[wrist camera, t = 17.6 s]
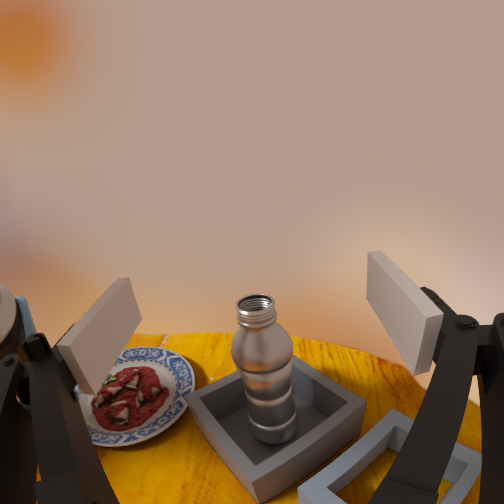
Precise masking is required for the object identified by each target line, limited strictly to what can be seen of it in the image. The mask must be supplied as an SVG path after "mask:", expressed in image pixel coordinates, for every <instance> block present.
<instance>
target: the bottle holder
mask: <svg viewBox="0 0 504 504" xmlns="http://www.w3.org/2000/svg"><path fill="white" fill-rule="evenodd" d="M413 422H414V420H413V419H411V418H410V417H408V416H406V415H404V414H402V413H400V412H399V411H397V410H395V409H393V408H392V409H391V410H390V411H389V412H388V413H387V414H386V415H385V416H384V417H383V418H382V419H381V420H380V421H379V422H378V423H377V424H376V425H375V426H374V427H373V428H371V429H370V430H369V431H368V432H367V433H366V434H365V435H364V436H363V437H362V438H360V439H359V440H358V441H357V442H356V443H355V444H354V445H352V446H351V447H350V448H349V449H348V450H347V451H345V452H344V453H343V454H342V455H341V456H339V457H338V458H337V459H336V460H334V461H333V462H332V463H330V464H329V465H328V466H327V467H325V468H324V469H323V470H321V471H320V472H319V473H317V474H316V475H315V476H313V477H312V478H310V479H309V480H308V481H306V482H305V483H303V484H302V485H300V486H299V487H298V501H299V504H347V503H345V502H344V501H343V500H342V499H340V498H339V497H338V496H336V495H335V494H336V493H337V492H339V491H340V490H341V489H342V488H344V487H345V486H346V485H347V484H348V483H350V482H351V481H352V480H353V479H354V478H355V477H357V476H358V475H359V474H360V473H361V472H362V471H363V470H364V469H366V468H367V467H368V466H369V465H370V464H371V463H372V462H373V461H374V460H375V459H376V458H377V457H378V456H379V455H380V454H381V453H382V452H383V451H384V450H385V449H386V448H387V447H389V448H390V449H392V450H394V451H395V452H397V453H399V451H400V449H401V447H402V445H403V443H404V441H405V439H406V437H407V435H408V433H409V431H410V429H411V427H412V425H413ZM481 465H482V453H479V452H477V451H475V450H473V449H471V448H469V447H467V446H464V445H462V444H460V443H458V442H456V443H455V446H454V449H453V452H452V455H451V457H450V460H449V463H448V465H447V468H446V471H445V473H444V476H443V479H445V480H447V481H449V482H451V483H453V484H452V485H451V487H450V488H449V489H448V491H447V492H446V494H445V495H444V496H443V498H442V499H441V500H440V501H439V503H438V504H461V502H462V501H463V499H464V498H465V496H466V495H467V493H468V492H469V490H470V489H471V487H472V486H473V484H474V482H475V481H476V479H477V478H478V476H479V474H480V472H481Z"/></svg>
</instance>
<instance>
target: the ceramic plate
mask: <svg viewBox="0 0 504 504" xmlns="http://www.w3.org/2000/svg"><path fill="white" fill-rule="evenodd" d="M194 390H195V374H194V371H193V368H192V367H191V365H190V363H189V362H188V361H187V360H186V359H185V358H184V357H183V356H181V355H180V354H178V353H176V352H174V351H171V350H168V349H164V348H159V347H135V348H128V349H123V351H122V352H121V354H120V356H119V357H118V359H117V361H116V362H115V364H114V366H113V367H112V369H111V371H110V372H109V374H108V376H107V378H106V379H105V381H104V383H103V384H102V386H101V388H100V390H99V391H98V393H97V395H96V396H94V395H87V394H83V393H82V391H81V390H80V388H79V386H78V385H76V387H75V389H74V391H75V392H76V394H77V396H78V399H79V403H80V406H81V410H82V413H83V416H84V419H85V422H86V425H87V428H88V431H89V434H90V437H91V439H92V442H93V444H94V445H99V446H106V447H119V446H127V445H132V444H136V443H139V442H142V441H145V440H147V439H149V438H151V437H154V436H156V435H158V434H159V433H161V432H162V431H164V430H165V429H167V428H168V427H169V426H171V425H172V424H173V423H174V422H175V421H176V420H177V419H178V418H179V417H180V416H181V415H182V414H183V413H184V411H185V410H186V408H187V407H188V404H187V401H186V399H185V395H187V394H189V393H191V392H194Z"/></svg>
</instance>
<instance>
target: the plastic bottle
mask: <svg viewBox="0 0 504 504" xmlns="http://www.w3.org/2000/svg"><path fill="white" fill-rule="evenodd" d="M236 309H237V320H238V324H239V325H240V327H239V328H238V330H237V332H236V334H235V336H234V338H233V340H232V344H231V355H232V358H233V361H234V363H235V366H236V368H237V370H238V373H239V375H240V377H241V380H242V383H243V386H244V389H245V393H246V396H247V404H248V426H249V428H250V430H251V432H252V433H253V435H254V436H255V437H256V438H257V439H258V440H259V441H261V442H264V443H267V444H280V443H283V442H286V441H288V440H289V439H291V438H292V437H293V436H294V435H295V434H296V432H297V430H298V425H299V414H298V410H297V408H296V405H295V403H294V398H293V394H292V385H291V370H292V359H293V342H292V340H291V338H290V336H289V334H288V332H287V331H286V330H285V329H284V328H283V327H282V326H281V325H280V324H279V323H278V322H276V320H277V312H276V310H275V303H274V299H273V298H272V297H271V296H269V295H266V294H251V295H247V296H245V297H243V298H241V299H239V300H238V302H237V303H236Z"/></svg>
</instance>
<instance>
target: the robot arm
mask: <svg viewBox="0 0 504 504" xmlns="http://www.w3.org/2000/svg"><path fill="white" fill-rule="evenodd" d="M366 298H367V300H368V302H369V303H370V305H371V306H372V308H373V309H374V311H375V312H376V314H377V316H378V317H379V319H380V321H381V322H382V324H383V325H384V327H385V329H386V330H387V332H388V334H389V335H390V337H391V339H392V340H393V342H394V344H395V345H396V347H397V349H398V350H399V352H400V354H401V355H402V357H403V359H404V361H405V362H406V364H407V366H408V368H409V369H410V371H411V373H412V375H413V376H415V375H418V374H422V373H425V372H429V370H430V367H431V364H432V360H433V361H434V363H435V364H436V367H435V370H434V373H433V376H432V378H431V381H430V384H429V386H428V389H427V392H426V394H425V397H424V399H423V402H422V404H421V407H420V409H419V411H418V414H417V416H416V418H415V420H414V422H413V425H412V427H411V429H410V431H409V433H408V435H407V437H406V439H405V441H404V443H403V445H402V447H401V449H400V451H399V453H398V455H397V457H396V459H395V460H394V462H393V464H392V466H391V468H390V469H389V471H388V473H387V474H386V476H385V477H384V479H383V480H382V482H381V483H380V485H379V487H378V488H377V490H376V491H375V493H374V494H373V496H372V497H371V499H370V500H369V502H368V503H367V504H436V502H437V499H438V495H439V494H438V492H437V491H438V488H439V485H440V483H441V480H442V478H443V476H444V473H445V471H446V468H447V465H448V463H449V460H450V457H451V455H452V452H453V449H454V446H455V443H456V440H457V437H458V433H459V430H460V427H461V423H462V420H463V416H464V412H465V408H466V404H467V400H468V395H469V391H470V387H471V382H472V376H473V375H477V379H478V387H479V397H480V409H481V428H482V465H481V483H480V494H479V503H478V504H504V313H499V314H497V315H496V316H495V318H494V321H493V324H492V325H479V323H478V322H477V320H476V319H474V318H473V317H471V316H467V315H457V314H456V313H455V312H454V311H453V310H452V309H451V308H450V307H449V306H448V305H447V304H446V303H445V302H444V301H443V300H442V299H441V298H439V296H438V295H437V294H436V293H435V292H434V291H432V290H430V289H428V288H426V287H421V288H419V287H418V286H417V285H416V284H415V283H414V282H413V281H412V280H411V279H410V278H409V277H408V276H406V274H405V273H404V272H403V271H402V270H400V269H399V268H398V267H397V266H396V265H395V264H394V263H393V262H392V261H391V260H390V259H389V258H388V257H387V256H386V255H385V254H384V253H383V252H381V251H374V252H368V265H367V294H366ZM141 320H142V318H141V315H140V311H139V308H138V305H137V302H136V299H135V296H134V292H133V289H132V286H131V283H130V279H129V278H119V279H117V280H116V281H115V282H114V283H113V284H112V285H111V286H110V287H109V288H108V289H107V290H106V291H105V292H104V294H102V296H101V297H100V298H99V299H98V300H97V301H96V302H95V303H94V304H93V305H92V306H91V307H90V308H89V309H88V310H87V311H86V312H85V314H84V315H83V316H82V317H81V318H80V319H79V320H78V321H77V322H76V323H75V324H74V325H72V326H71V327H70V328H69V329H68V331H67V332H66V333H65V334H64V335H63V337H61V338H60V340H59V341H58V342H57V343H56V344H55V345H54V347H53V348H52V349H51V347H50V345H49V343H48V341H47V339H46V337H45V335H44V334H43V333H37V332H36V329H35V326H34V323H33V319H32V316H31V313H30V310H29V306H28V303H27V301H26V298H25V297H15V299H14V297H13V295H12V293H11V292H10V291H9V290H8V289H7V288H6V287H4V286H3V285H0V504H36V500H37V504H120V503H119V501H118V499H117V497H116V495H115V493H114V491H113V489H112V487H111V485H110V483H109V481H108V479H107V476H106V474H105V472H104V470H103V467H102V465H101V463H100V460H99V458H98V455H97V453H96V450H95V447H94V445H93V442H92V439H91V437H90V434H89V431H88V428H87V425H86V422H85V419H84V416H83V413H82V410H81V406H80V403H79V399H78V396H77V394H76V392H75V391H74V389H75V387H76V385H78V386H79V388H80V390H81V391H82V393H83V394H87V395H94V396H96V395H97V393H98V391H99V390H100V388H101V386H102V384H103V383H104V381H105V379H106V378H107V376H108V374H109V372H110V371H111V369H112V367H113V366H114V364H115V362H116V361H117V359H118V357H119V356H120V354H121V352H122V351H123V349H124V347H125V346H126V344H127V343H128V341H129V339H130V338H131V336H132V334H133V333H134V331H135V330H136V328H137V326H138V325H139V323H140V322H141ZM16 396H17V397H18V399H19V402H18V400H17V397H16ZM37 459H38V465H39V470H40V475H41V481H38V482H36V474H37Z"/></svg>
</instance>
